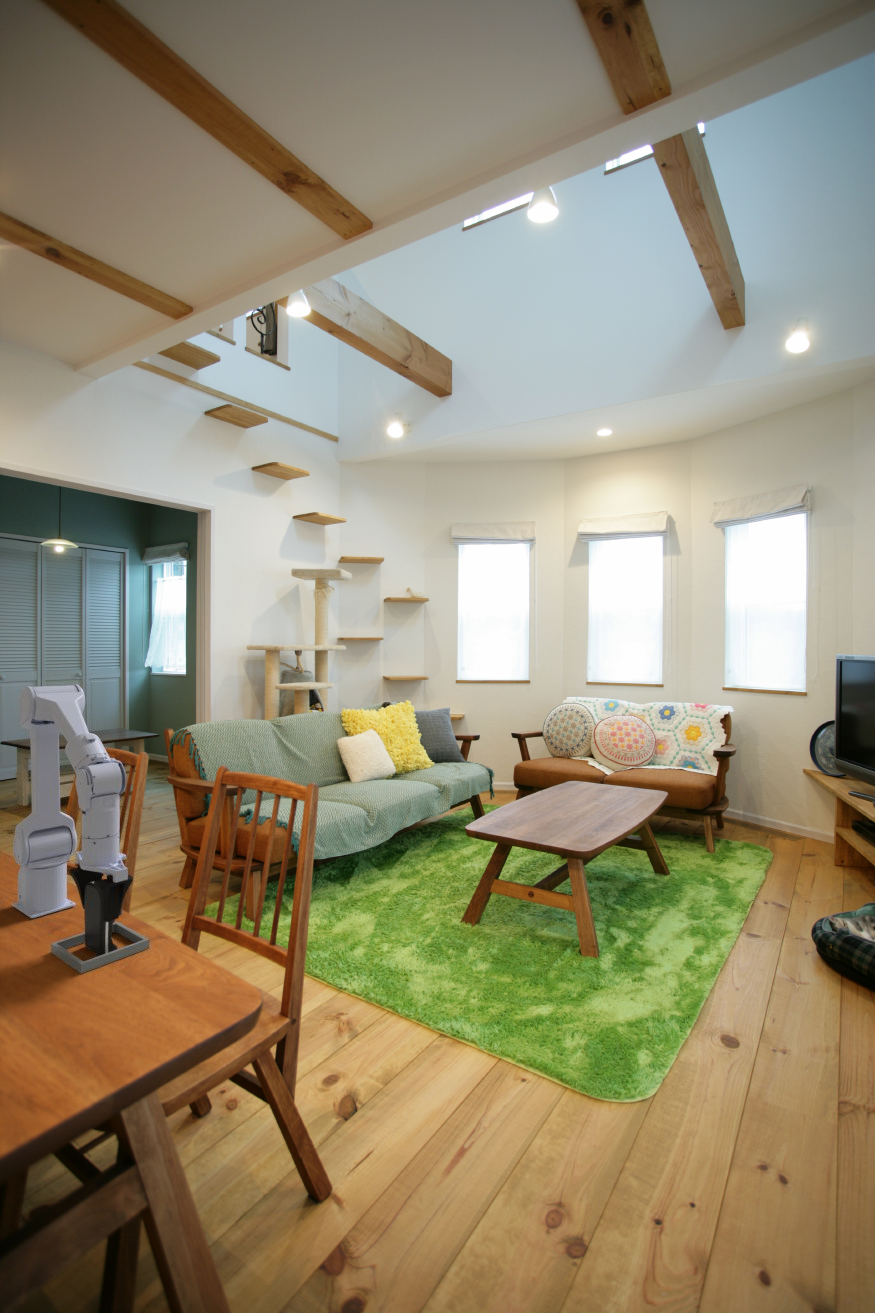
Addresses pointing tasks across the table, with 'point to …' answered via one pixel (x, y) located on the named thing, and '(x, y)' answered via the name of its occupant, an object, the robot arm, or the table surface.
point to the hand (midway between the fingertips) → (100, 913)
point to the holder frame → (80, 966)
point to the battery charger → (97, 923)
